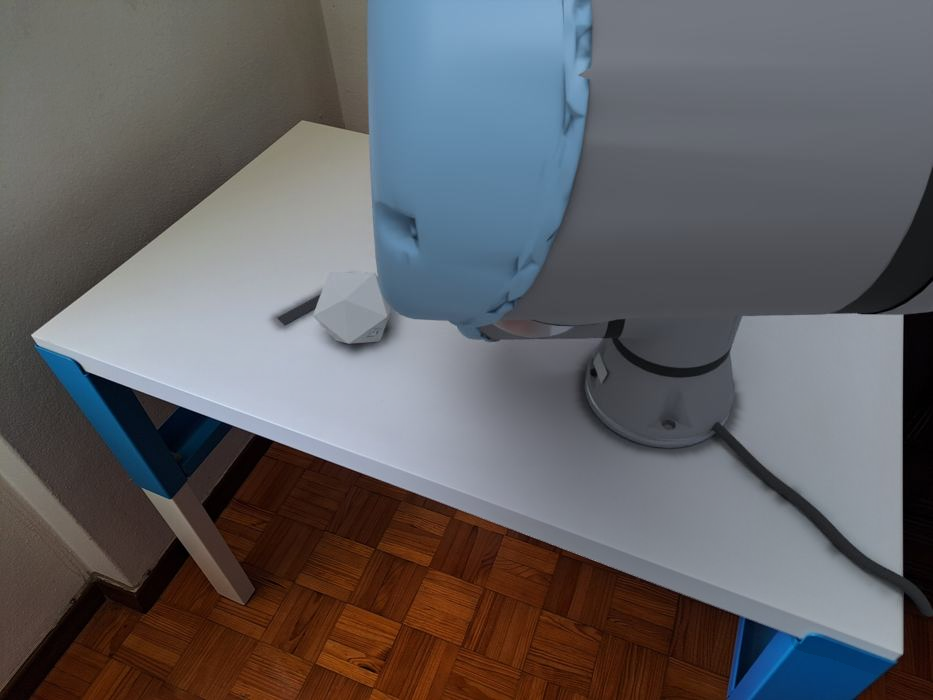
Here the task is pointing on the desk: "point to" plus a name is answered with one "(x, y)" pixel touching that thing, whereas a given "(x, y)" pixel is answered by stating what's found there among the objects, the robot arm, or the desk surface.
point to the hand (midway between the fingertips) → (530, 82)
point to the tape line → (299, 311)
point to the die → (352, 308)
